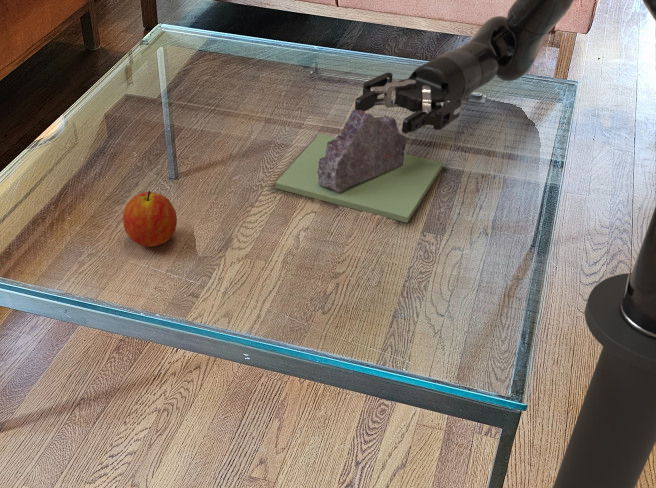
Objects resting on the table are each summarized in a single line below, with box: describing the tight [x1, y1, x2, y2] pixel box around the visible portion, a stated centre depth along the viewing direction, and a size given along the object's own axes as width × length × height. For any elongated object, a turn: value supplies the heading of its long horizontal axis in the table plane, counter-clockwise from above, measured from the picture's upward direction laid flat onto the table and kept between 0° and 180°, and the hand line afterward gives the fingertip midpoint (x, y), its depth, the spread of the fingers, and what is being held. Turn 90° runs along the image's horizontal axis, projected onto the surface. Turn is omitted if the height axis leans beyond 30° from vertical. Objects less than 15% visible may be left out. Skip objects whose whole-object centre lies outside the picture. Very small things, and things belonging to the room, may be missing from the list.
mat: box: [275, 133, 444, 224], centre depth 123 cm, size 20×16×1 cm
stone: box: [317, 108, 408, 192], centre depth 119 cm, size 10×6×15 cm
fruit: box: [122, 190, 178, 248], centre depth 109 cm, size 7×7×8 cm
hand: (380, 117), depth 120 cm, fingers open, 8 cm apart
